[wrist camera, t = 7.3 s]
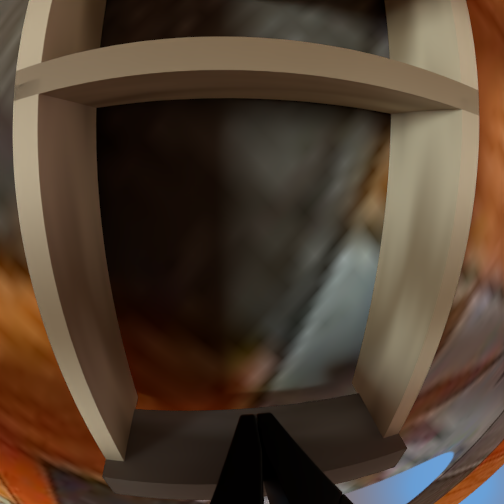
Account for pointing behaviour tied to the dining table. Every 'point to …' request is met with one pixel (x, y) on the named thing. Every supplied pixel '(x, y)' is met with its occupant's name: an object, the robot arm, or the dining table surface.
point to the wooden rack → (257, 87)
